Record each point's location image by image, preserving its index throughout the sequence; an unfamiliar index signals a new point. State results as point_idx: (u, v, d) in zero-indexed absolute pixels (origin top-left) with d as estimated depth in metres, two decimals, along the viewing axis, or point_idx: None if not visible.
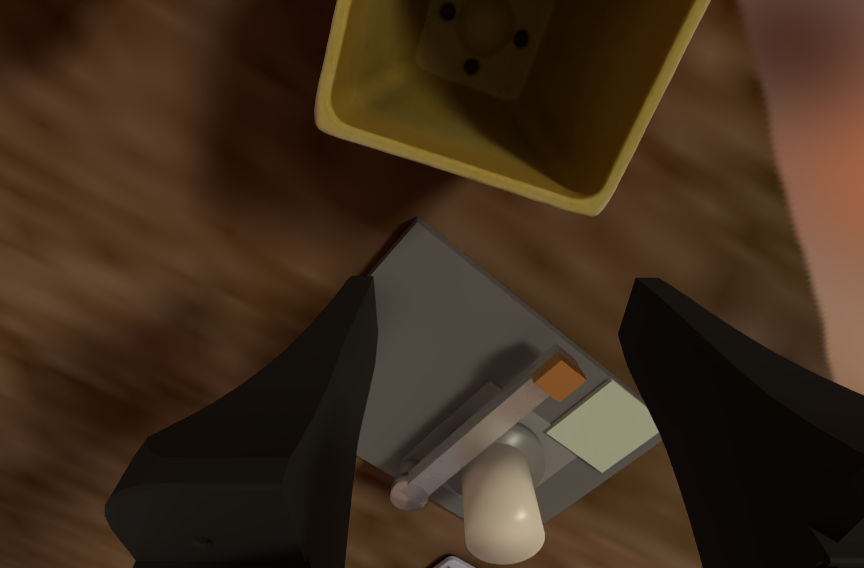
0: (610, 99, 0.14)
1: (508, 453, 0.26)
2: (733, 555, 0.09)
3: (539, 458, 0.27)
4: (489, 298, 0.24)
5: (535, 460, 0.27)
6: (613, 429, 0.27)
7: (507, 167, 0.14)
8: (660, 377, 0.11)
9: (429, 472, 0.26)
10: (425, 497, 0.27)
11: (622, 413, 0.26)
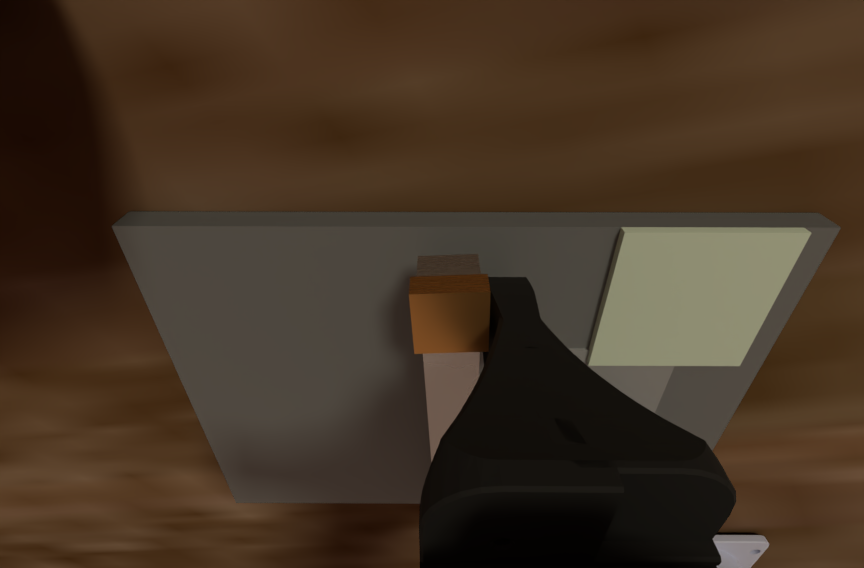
0: None
1: None
2: None
3: None
4: (313, 250, 0.13)
5: None
6: (700, 299, 0.14)
7: None
8: None
9: None
10: None
11: (695, 267, 0.13)
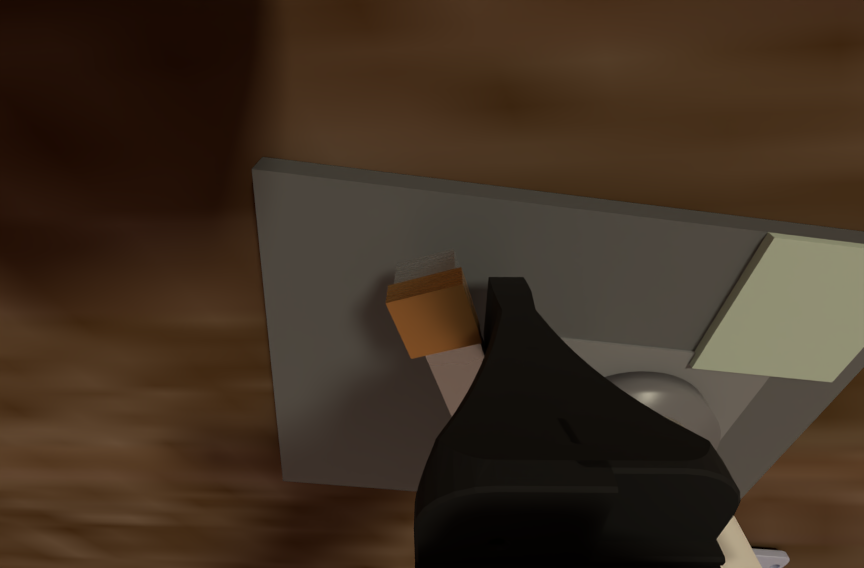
0: None
1: None
2: None
3: (698, 412, 0.15)
4: (457, 221, 0.13)
5: (693, 416, 0.15)
6: (820, 312, 0.14)
7: None
8: None
9: None
10: None
11: (826, 280, 0.13)
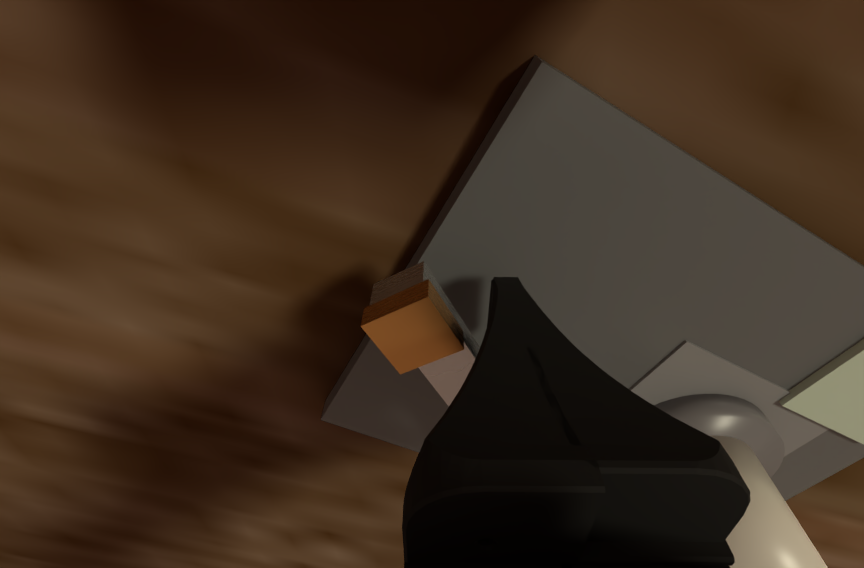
0: None
1: (730, 453, 0.15)
2: None
3: (775, 447, 0.16)
4: (693, 198, 0.12)
5: (767, 450, 0.16)
6: None
7: None
8: None
9: None
10: None
11: None
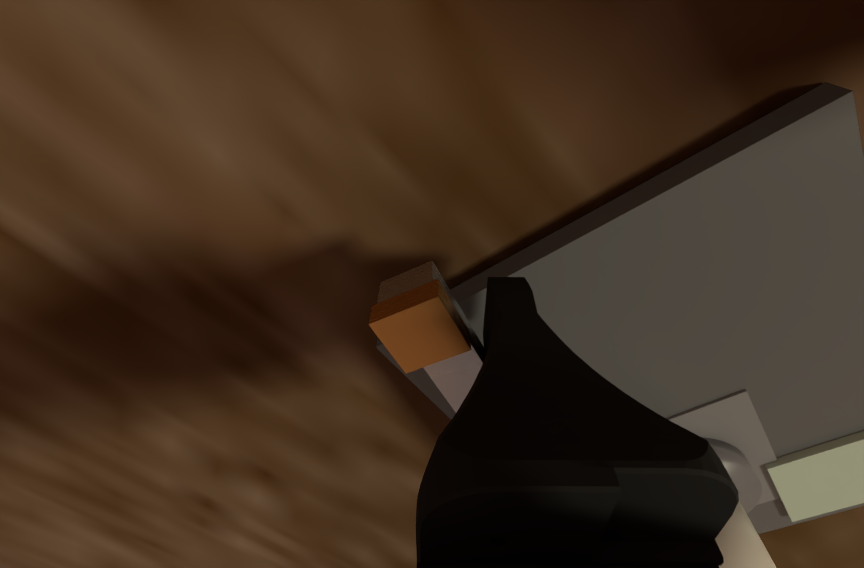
0: None
1: None
2: None
3: (751, 502, 0.18)
4: (848, 270, 0.13)
5: (743, 503, 0.18)
6: (853, 479, 0.19)
7: None
8: None
9: None
10: None
11: None
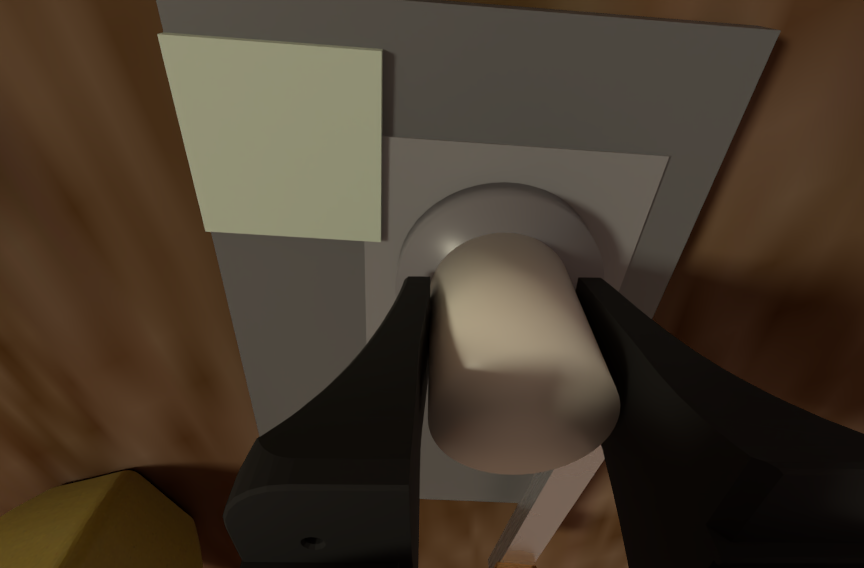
0: None
1: None
2: (651, 554, 0.09)
3: (419, 249, 0.13)
4: (274, 417, 0.18)
5: (429, 251, 0.13)
6: (271, 139, 0.12)
7: None
8: None
9: (598, 453, 0.16)
10: None
11: (231, 157, 0.12)
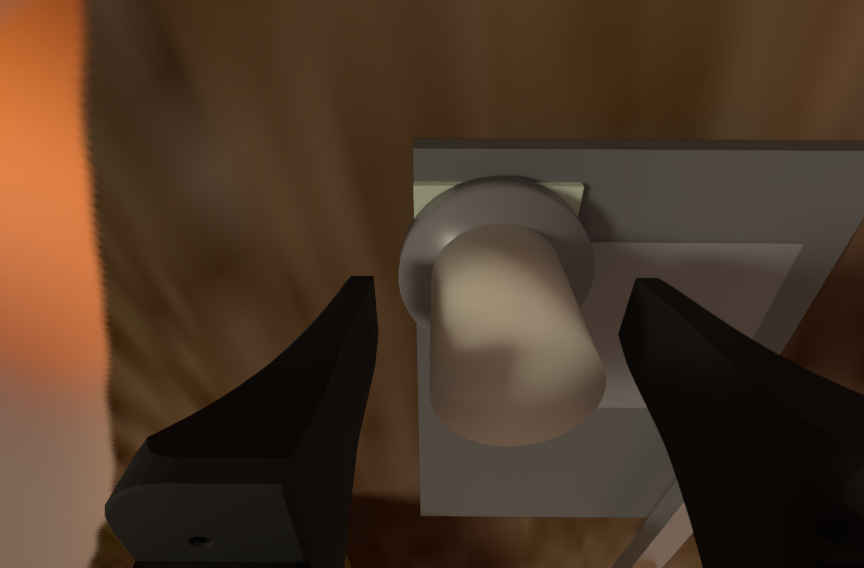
0: None
1: None
2: (733, 555, 0.09)
3: (418, 243, 0.13)
4: (436, 454, 0.22)
5: (428, 244, 0.13)
6: None
7: None
8: (660, 377, 0.11)
9: None
10: None
11: None
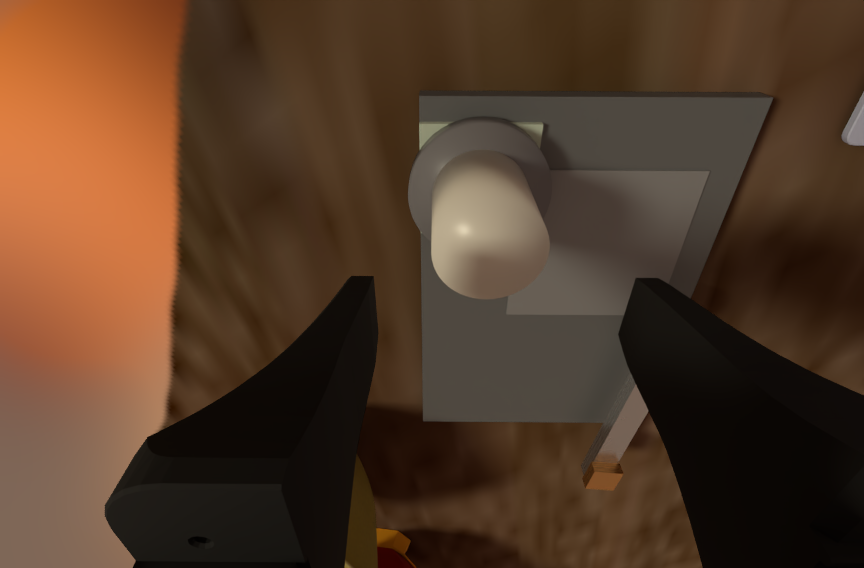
0: None
1: None
2: (733, 555, 0.09)
3: (422, 165, 0.18)
4: (435, 360, 0.27)
5: (429, 166, 0.19)
6: None
7: None
8: (660, 377, 0.11)
9: None
10: None
11: None
